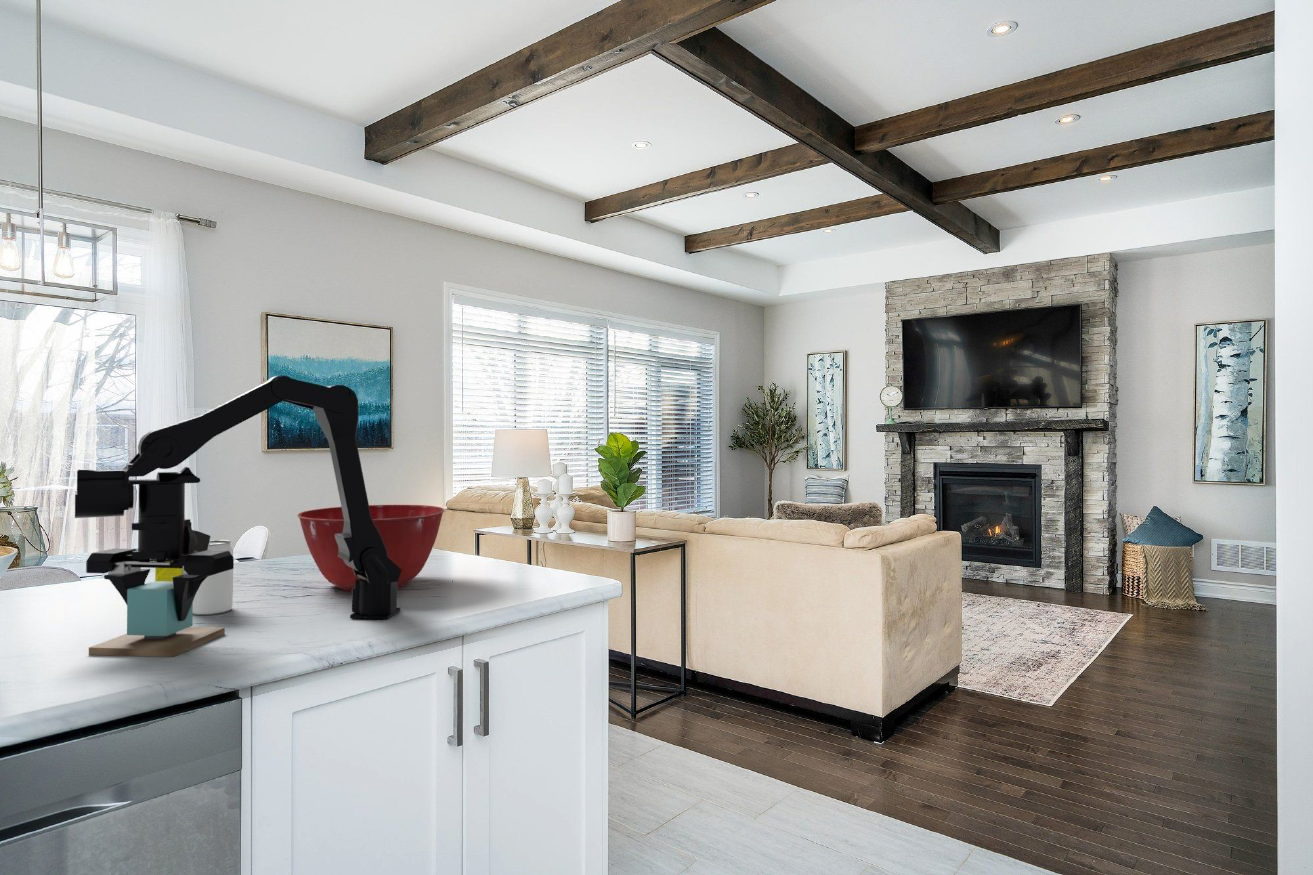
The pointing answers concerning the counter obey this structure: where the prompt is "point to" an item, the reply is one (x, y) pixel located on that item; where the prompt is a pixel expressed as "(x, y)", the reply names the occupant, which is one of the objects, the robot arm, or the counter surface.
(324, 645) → the counter surface
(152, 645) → the base board
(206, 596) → the can
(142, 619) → the teal cube
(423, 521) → the mixing bowl
